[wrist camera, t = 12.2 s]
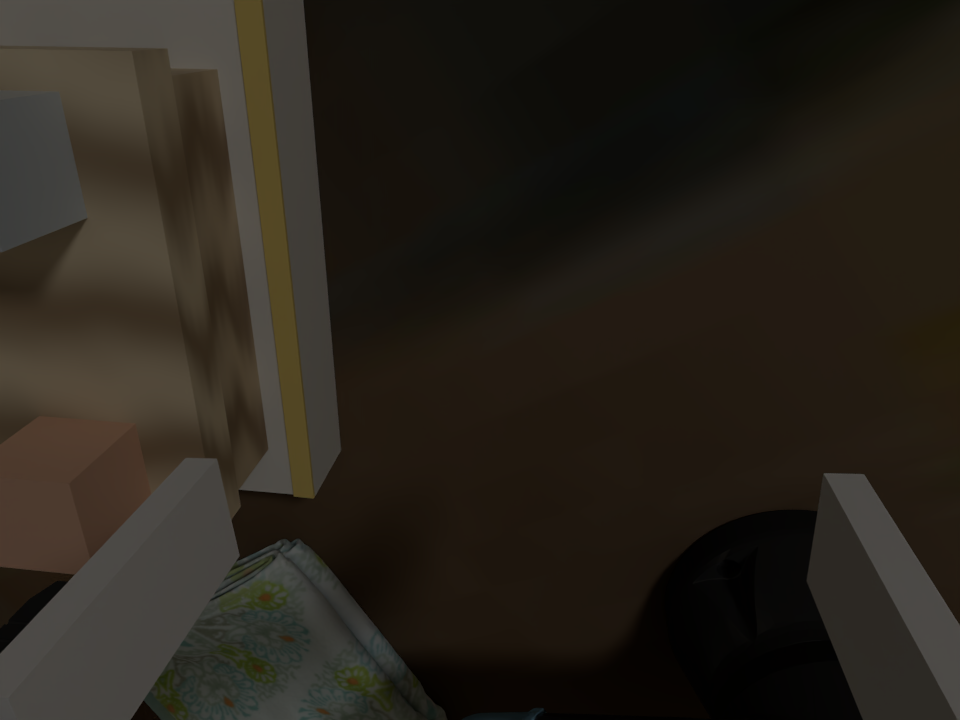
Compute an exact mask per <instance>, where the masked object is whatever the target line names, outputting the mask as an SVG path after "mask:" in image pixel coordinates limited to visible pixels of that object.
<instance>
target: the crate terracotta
mask: <svg viewBox="0 0 960 720" xmlns="http://www.w3.org/2000/svg"><path fill="white" fill-rule="evenodd" d="M150 495H151V490H150V486H149V482H148V477H147V473H146V468H145V464H144V459H143V455H142V450H141V446H140V441H139V437H138V432H137V428H136V424H135V423H122V422H110V421H97V420H84V419H71V418H59V417H46V416H39V417H37V418H36V419H34V420H33V421H32V422H30V423H29V424H28V425H26V426H25V427H23V428H22V429H21V430H19V431H18V432H17V433H15V434H14V435H13V436H11V437H10V438H8V439H7V440H6V441H4V442H3V443H2V444H0V567H9V568H18V569H28V570H37V571H47V572H56V573H66V574H76V573H77V572H78V571H79V570H80V569H81V568H82V567H83V566H84V565H85V564H86V563H87V562H88V560H89V559H90V558H91V557H92V556H93V555H94V554H95V553H96V552H97V551H98V550H99V549H100V548H101V547H102V546H103V545H104V544H105V543H106V541H107V540H108V539H109V538H110V537H111V536H112V535H113V534H114V533H115V532H116V531H117V530H118V529H119V528H120V527H121V526H122V525H123V524H124V522H125V521H126V520H127V519H128V518H129V517H130V516H131V515H132V514H133V513H134V512H135V511H136V510H137V509H138V508H139V507H140V506H141V505H142V504H143V502H144V501H145V500H146V499H147V498H148V497H149V496H150Z"/></svg>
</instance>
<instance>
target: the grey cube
mask: <svg viewBox="0 0 960 720" xmlns="http://www.w3.org/2000/svg"><path fill="white" fill-rule="evenodd" d="M86 218H88V217H87V212H86V208H85V204H84V199H83V195H82V190H81V186H80V181H79V177H78V173H77V168H76V164H75V159H74V155H73V150H72V146H71V142H70V137H69V133H68V128H67V124H66V119H65V115H64V111H63V106H62V102H61V97H60V93H59V92H58V91H12V90H0V252H4V251H7V250H9V249H11V248H14V247H16V246H19V245H21V244H24V243H26V242H29V241H31V240H34V239H36V238H39V237H41V236H44V235H46V234H49V233H51V232H54V231H56V230H59V229H61V228H64V227H66V226H69V225H71V224H74V223H76V222H78V221H81V220H83V219H86Z"/></svg>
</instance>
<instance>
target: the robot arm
mask: <svg viewBox="0 0 960 720" xmlns="http://www.w3.org/2000/svg"><path fill="white" fill-rule="evenodd" d="M238 557H239V551H238V547H237V543H236V538H235V534H234V530H233V525H232V521H231V517H230V512H229V508H228V504H227V500H226V495H225V491H224V487H223V482H222V478H221V474H220V469H219V465H218V461H217V459H213V458H185V459H184V460H183V461H182V462H181V463H180V464H179V466H178V467H177V468H176V469H175V470H174V471H173V472H172V473H171V474H170V475H169V476H168V477H167V478H166V479H165V480H164V481H163V482H162V483H161V485H160V486H159V487H158V488H157V489H156V490H155V491H154V492H153V493H152V494H151V495H150V496H149V497H148V498H147V499H146V500H145V501H144V502H143V504H142V505H141V506H140V507H139V508H138V509H137V510H136V511H135V512H134V513H133V514H132V515H131V516H130V517H129V518H128V519H127V520H126V521H125V522H124V524H123V525H122V526H121V527H120V528H119V529H118V530H117V531H116V532H115V533H114V534H113V535H112V536H111V537H110V538H109V539H108V540H107V541H106V543H105V544H104V545H103V546H102V547H101V548H100V549H99V550H98V551H97V552H96V553H95V554H94V555H93V556H92V557H91V558H90V559H89V560H88V562H87V563H86V564H85V565H84V566H83V567H82V568H81V569H80V570H79V571H78V572H77V573H76V574H75V575H74V576H73V577H72V578H71V579H70V581H69V582H65V581H57V582H55V583H54V584H52V585H50V586H49V587H47V588H46V589H44V590H43V591H41V592H40V593H38V594H37V595H35V596H33V597H32V598H30V599H29V600H28V601H27V602H26V603H25V604H24V605H23V606H22V607H21V608H20V609H19V610H18V611H17V612H16V613H15V614H14V615H13V616H12V617H11V618H10V619H9V622H8V624H7V625H5V624H4V625H3V626H2V627H1V628H0V720H131V718H132V717H133V715H134V714H135V712H136V711H137V709H138V708H139V706H140V705H141V703H142V702H143V700H144V699H145V697H146V696H147V694H148V693H149V691H150V690H151V688H152V687H153V685H154V684H155V682H156V681H157V679H158V678H159V676H160V675H161V673H162V672H163V670H164V669H165V667H166V666H167V664H168V663H169V661H170V660H171V658H172V657H173V655H174V654H175V652H176V651H177V649H178V648H179V646H180V645H181V643H182V642H183V640H184V639H185V637H186V636H187V634H188V633H189V631H190V630H191V628H192V626H193V625H194V623H195V622H196V620H197V619H198V617H199V616H200V614H201V613H202V611H203V610H204V608H205V607H206V605H207V604H208V602H209V601H210V599H211V598H212V596H213V595H214V593H215V592H216V590H217V589H218V587H219V586H220V584H221V583H222V581H223V580H224V578H225V577H226V575H227V574H228V572H229V571H230V569H231V568H232V566H233V565H234V563H235V562H236V560H237V559H238ZM665 614H666V621H667V628H668V635H669V640H670V643H671V647H672V649H673V652H674V655H675V657H676V659H677V661H678V663H679V665H680V666H681V668H682V670H683V672H684V673H685V675H686V677H687V678H688V680H689V682H690V684H691V685H692V687H693V689H694V690H695V692H696V694H697V696H698V697H699V699H700V701H701V702H702V704H703V706H704V708H705V709H706V711H707V713H708V714H709V716H710V718H711V719H694V718H681V717H651V716H621V715H591V714H560V713H546V711H545V710H544V708H533V709H532V710H530V711H529V712H499V713H477V714H473V715H470V716H467V717H465V718H463V719H462V720H960V625H959V624H958V622H957V620H956V619H955V617H954V616H953V614H952V612H951V611H950V609H949V608H948V606H947V605H946V603H945V601H944V600H943V598H942V597H941V595H940V594H939V592H938V590H937V589H936V587H935V586H934V584H933V583H932V581H931V579H930V578H929V576H928V575H927V573H926V571H925V570H924V568H923V567H922V565H921V564H920V562H919V560H918V559H917V557H916V556H915V554H914V553H913V551H912V549H911V548H910V546H909V545H908V543H907V542H906V540H905V538H904V537H903V535H902V534H901V532H900V530H899V529H898V527H897V526H896V524H895V523H894V521H893V519H892V518H891V516H890V515H889V513H888V512H887V510H886V508H885V507H884V505H883V504H882V502H881V501H880V499H879V497H878V496H877V494H876V493H875V491H874V490H873V488H872V486H871V485H870V483H869V482H868V480H867V478H866V477H865V475H864V474H833V473H824V474H823V480H822V487H821V493H820V499H819V506H818V512H817V511H808V510H780V511H771V512H765V513H759V514H755V515H751V516H748V517H744V518H741V519H738V520H736V521H733V522H730V523H728V524H726V525H724V526H722V527H720V528H718V529H716V530H714V531H713V532H711V533H709V534H708V535H706V536H705V537H704V538H702V539H701V540H700V541H698V542H697V543H696V544H695V545H694V546H693V547H691V548H690V549H689V550H688V551H687V553H686V554H685V555H684V556H683V557H682V558H681V560H680V561H679V562H678V564H677V566H676V567H675V569H674V571H673V573H672V575H671V577H670V579H669V582H668V585H667V589H666V594H665Z"/></svg>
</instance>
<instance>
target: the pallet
mask: <svg viewBox="0 0 960 720" xmlns="http://www.w3.org/2000/svg"><path fill="white" fill-rule="evenodd" d="M0 90H12V91H58V92H59V93H60V97H61V102H62V106H63V111H64V115H65V119H66V124H67V128H68V133H69V137H70V142H71V146H72V150H73V155H74V159H75V164H76V168H77V173H78V177H79V181H80V186H81V190H82V195H83V199H84V204H85V208H86V212H87V217H88V218H86V219H83V220H81V221H78V222H76V223H74V224H71V225H69V226H66V227H64V228H61V229H59V230H56V231H54V232H51V233H49V234H46V235H44V236H41V237H39V238H36V239H34V240H31V241H29V242H26V243H24V244H21V245H19V246H16V247H14V248H11V249H9V250H7V251H4V252H0V444H2V443H3V442H4V441H6V440H7V439H8V438H10V437H11V436H13V435H14V434H15V433H17V432H18V431H19V430H21V429H22V428H23V427H25V426H26V425H28V424H29V423H30V422H32V421H33V420H34V419H36V418H37V417H39V416H46V417H59V418H71V419H84V420H97V421H110V422H122V423H135V424H136V428H137V432H138V437H139V441H140V446H141V450H142V455H143V459H144V464H145V468H146V473H147V477H148V482H149V486H150V490H151V494H152V493H153V492H154V491H155V490H156V489H157V488H158V487H159V486H160V485H161V483H162V482H163V481H164V480H165V479H166V478H167V477H168V476H169V475H170V474H171V473H172V472H173V471H174V470H175V469H176V468H177V467H178V466H179V464H180V463H181V462H182V461H183V460H184V459H185V458H213V459H217V461H218V465H219V469H220V474H221V478H222V482H223V487H224V491H225V495H226V500H227V504H228V508H229V512H230V517H231V519H232V518H233V517H234V515H235V514H236V512H237V511H238V509H239V508H240V507H241V505H240V498H239V492H238V490H239V489H240V487H241V486H242V485H243V483H244V482H245V481H246V479H247V478H248V476H249V475H250V474H251V472H252V471H253V470H254V468H255V467H256V466H257V464H258V463H259V461H260V460H261V459H262V457H263V456H264V455H265V453H266V452H267V451H268V442H267V434H266V427H265V420H264V412H263V405H262V397H261V390H260V382H259V375H258V368H257V360H256V353H255V345H254V338H253V330H252V323H251V316H250V308H249V301H248V293H247V286H246V278H245V271H244V264H243V256H242V249H241V241H240V234H239V226H238V219H237V212H236V204H235V197H234V189H233V182H232V174H231V167H230V160H229V152H228V145H227V137H226V130H225V122H224V115H223V108H222V100H221V93H220V85H219V78H218V70H217V69H180V68H171V67H170V61H169V55H168V49H167V48H115V47H56V46H0Z"/></svg>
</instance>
